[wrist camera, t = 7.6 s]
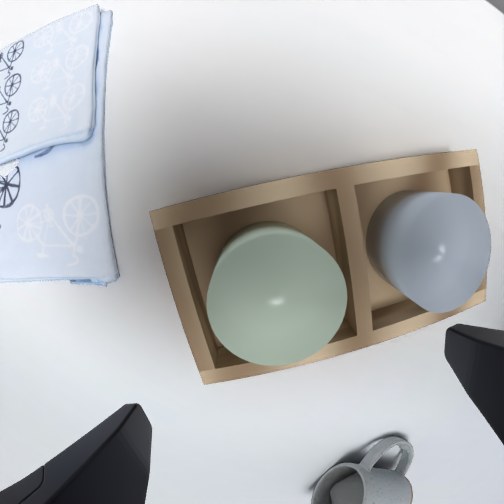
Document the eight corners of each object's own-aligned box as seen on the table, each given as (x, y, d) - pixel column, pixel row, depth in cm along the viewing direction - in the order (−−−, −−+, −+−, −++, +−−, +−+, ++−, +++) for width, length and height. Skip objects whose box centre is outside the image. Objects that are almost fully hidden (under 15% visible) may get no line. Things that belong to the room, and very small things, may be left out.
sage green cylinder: (311, 210, 18) (336, 220, 13) (327, 309, 19) (352, 347, 14) (203, 234, 18) (190, 253, 13) (229, 332, 19) (226, 376, 14)
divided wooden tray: (450, 151, 18) (476, 149, 15) (462, 288, 20) (485, 300, 17) (163, 207, 18) (149, 211, 15) (208, 359, 20) (203, 384, 17)
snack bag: (117, 10, 15) (107, -3, 13) (125, 285, 19) (113, 295, 17) (-43, 86, 15) (-57, 82, 13) (-36, 288, 19) (-50, 295, 17)
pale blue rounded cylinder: (439, 183, 18) (487, 185, 13) (446, 272, 19) (490, 293, 14) (358, 199, 18) (396, 204, 13) (371, 296, 19) (406, 328, 14)
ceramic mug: (360, 496, 25) (378, 543, 18) (303, 490, 24) (316, 547, 17) (422, 436, 24) (455, 484, 16) (369, 425, 22) (401, 486, 15)
